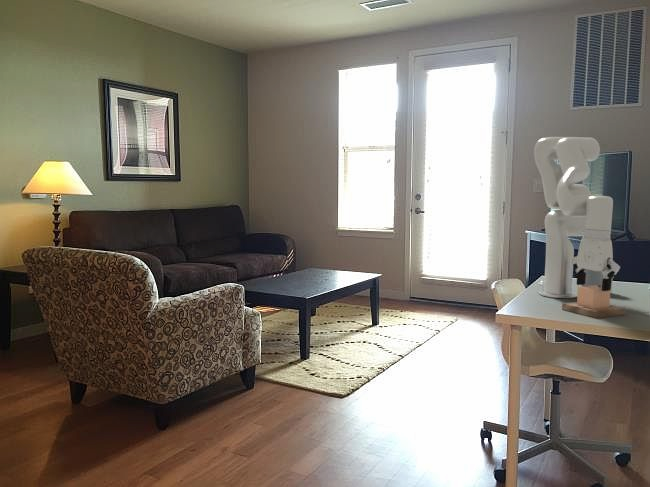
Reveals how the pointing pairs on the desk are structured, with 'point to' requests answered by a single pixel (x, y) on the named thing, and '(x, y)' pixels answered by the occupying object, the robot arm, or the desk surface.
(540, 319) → the desk surface
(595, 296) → the light orange block
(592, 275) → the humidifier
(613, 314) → the stand
